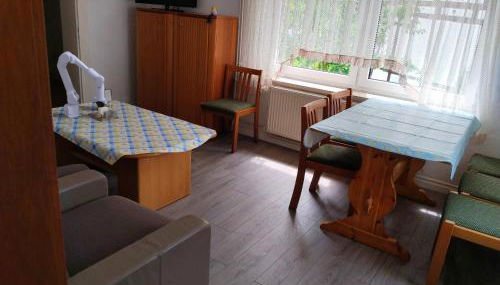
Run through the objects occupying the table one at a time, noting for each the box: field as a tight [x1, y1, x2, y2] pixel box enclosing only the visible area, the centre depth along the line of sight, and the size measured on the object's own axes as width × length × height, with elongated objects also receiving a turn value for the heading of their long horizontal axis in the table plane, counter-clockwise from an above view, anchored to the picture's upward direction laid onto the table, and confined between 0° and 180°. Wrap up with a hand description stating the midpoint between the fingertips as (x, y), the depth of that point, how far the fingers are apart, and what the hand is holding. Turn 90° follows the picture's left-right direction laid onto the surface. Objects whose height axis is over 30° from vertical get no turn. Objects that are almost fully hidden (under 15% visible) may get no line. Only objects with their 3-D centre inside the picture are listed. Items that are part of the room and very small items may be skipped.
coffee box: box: [104, 86, 113, 111], centre depth 294 cm, size 9×6×16 cm
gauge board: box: [87, 109, 120, 122], centre depth 277 cm, size 13×18×6 cm
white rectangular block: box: [97, 107, 108, 116], centre depth 276 cm, size 9×3×5 cm, turn 141°
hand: (100, 111), depth 279 cm, fingers closed
